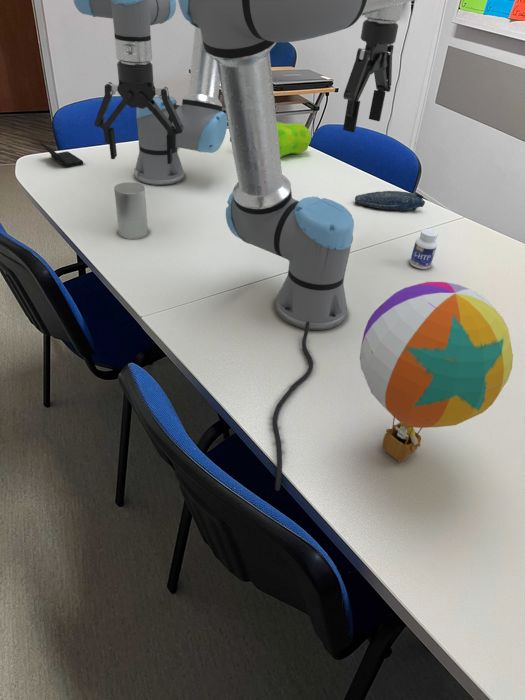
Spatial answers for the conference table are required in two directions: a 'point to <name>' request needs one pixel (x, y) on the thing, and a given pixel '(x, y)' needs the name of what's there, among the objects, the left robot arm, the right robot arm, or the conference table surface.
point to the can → (131, 210)
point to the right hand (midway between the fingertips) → (362, 125)
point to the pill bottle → (424, 249)
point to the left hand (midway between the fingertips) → (142, 159)
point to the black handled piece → (64, 157)
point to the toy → (434, 359)
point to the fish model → (391, 200)
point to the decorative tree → (292, 138)
